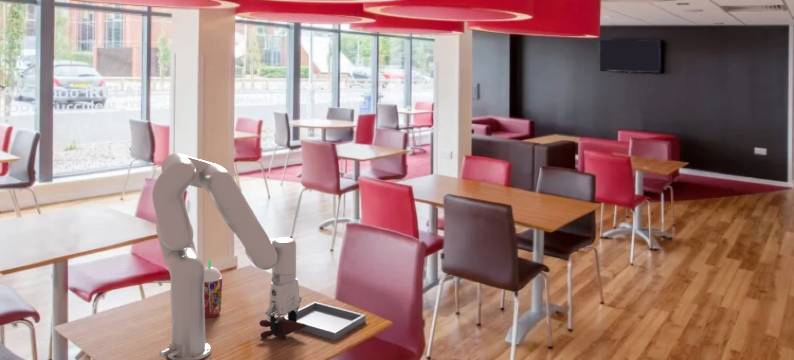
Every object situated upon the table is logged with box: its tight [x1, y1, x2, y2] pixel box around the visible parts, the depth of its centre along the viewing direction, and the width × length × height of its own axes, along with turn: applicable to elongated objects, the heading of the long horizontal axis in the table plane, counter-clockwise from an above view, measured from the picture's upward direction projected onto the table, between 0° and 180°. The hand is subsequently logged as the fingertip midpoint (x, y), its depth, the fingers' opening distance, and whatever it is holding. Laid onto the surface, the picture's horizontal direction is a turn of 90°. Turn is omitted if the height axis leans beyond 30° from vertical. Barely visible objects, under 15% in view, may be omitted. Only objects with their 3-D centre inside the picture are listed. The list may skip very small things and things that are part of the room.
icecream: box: [259, 315, 307, 339], centre depth 211 cm, size 7×7×15 cm
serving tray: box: [283, 301, 367, 341], centre depth 223 cm, size 18×22×2 cm
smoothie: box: [204, 258, 223, 318], centre depth 226 cm, size 8×8×20 cm
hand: (284, 328), depth 211 cm, fingers closed on icecream, 7 cm apart
